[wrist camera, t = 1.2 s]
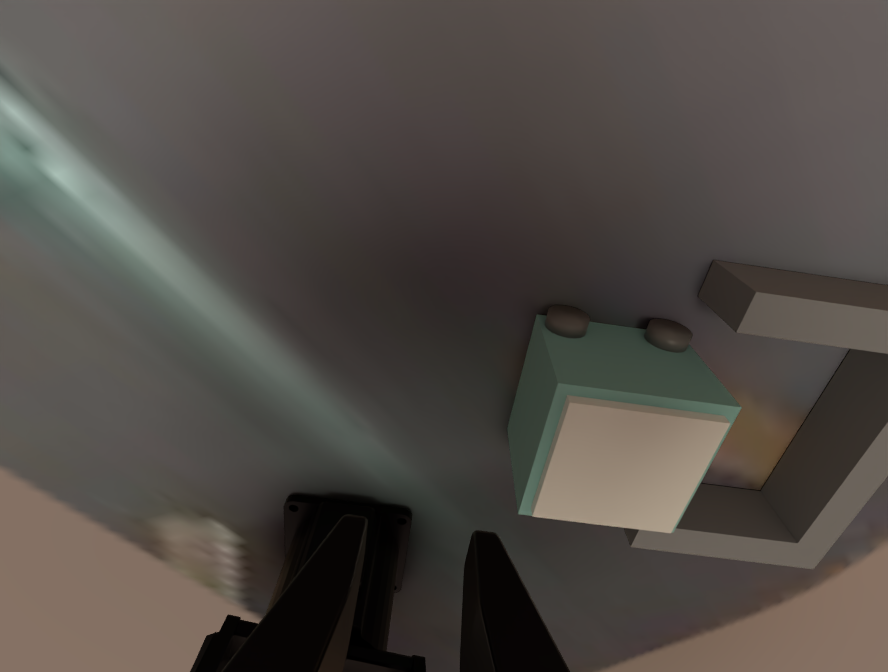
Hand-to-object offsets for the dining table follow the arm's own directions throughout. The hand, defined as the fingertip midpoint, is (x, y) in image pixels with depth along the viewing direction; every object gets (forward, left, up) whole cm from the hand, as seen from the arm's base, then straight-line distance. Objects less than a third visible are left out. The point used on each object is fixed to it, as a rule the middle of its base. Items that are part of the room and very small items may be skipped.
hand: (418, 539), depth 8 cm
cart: (-4, -7, -12) cm, 15 cm away
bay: (-4, -14, -12) cm, 18 cm away
